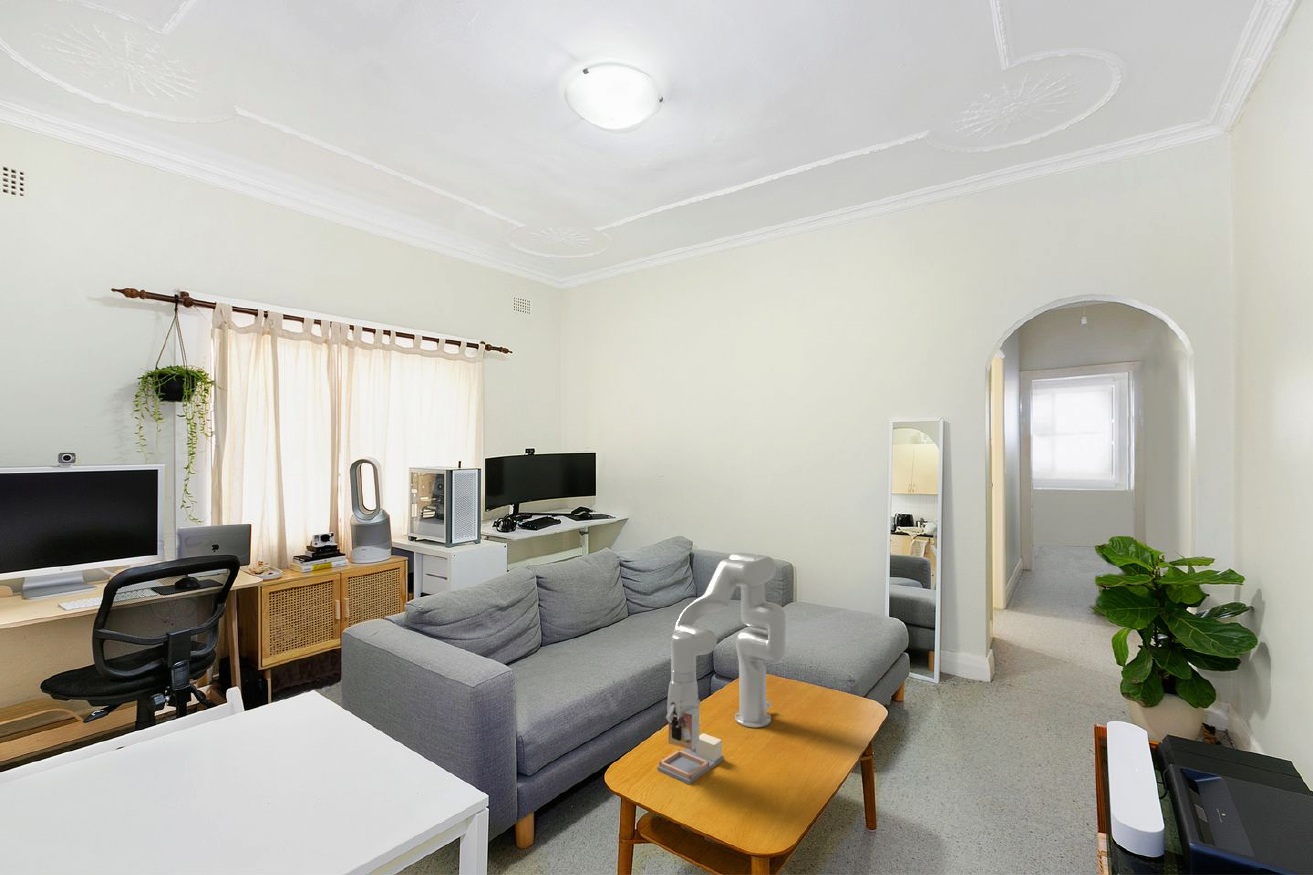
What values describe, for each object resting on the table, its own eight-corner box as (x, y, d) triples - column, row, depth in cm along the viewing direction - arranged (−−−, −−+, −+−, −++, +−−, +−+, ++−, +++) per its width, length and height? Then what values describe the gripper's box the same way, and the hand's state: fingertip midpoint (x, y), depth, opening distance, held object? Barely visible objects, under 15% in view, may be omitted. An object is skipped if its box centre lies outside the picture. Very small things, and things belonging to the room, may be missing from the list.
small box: (667, 744, 178) (667, 708, 178) (676, 736, 183) (675, 701, 183) (692, 750, 174) (692, 714, 175) (699, 742, 179) (699, 707, 180)
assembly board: (693, 746, 192) (692, 728, 192) (723, 759, 184) (723, 739, 184) (657, 769, 178) (657, 749, 178) (689, 784, 171) (688, 763, 171)
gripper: (690, 664, 188) (691, 721, 188) (655, 680, 175) (655, 741, 175) (710, 669, 183) (710, 728, 183) (675, 686, 170) (675, 749, 170)
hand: (683, 734), depth 179 cm, fingers closed on small box, 6 cm apart
